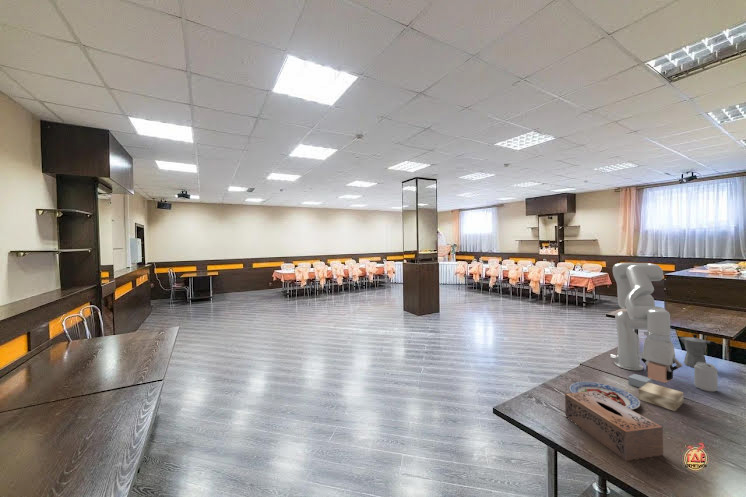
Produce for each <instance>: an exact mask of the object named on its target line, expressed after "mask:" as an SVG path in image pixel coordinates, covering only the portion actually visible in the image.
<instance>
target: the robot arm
mask: <svg viewBox="0 0 746 497" xmlns="http://www.w3.org/2000/svg"><path fill="white" fill-rule="evenodd" d="M612 275H613V278H614V280H615V282H616V289H617V291H616V292H617V294H616V295H617V305H618V306H619V308H621V309H624V310H625V309H626V311H618V312H617V313H616V314H615V316H614V318H615V324H616V332H617V333H616V334H617V355H615V354H610V356H609V357H610V359H611V360H615V361H614V365H615V366H616V367H618V368H621V369H624V370H629V371H635V372H637V371H643V370H644V366H643V365H642V364H640V360H641V361H642V362H643V363H644V365H645V368H646V369H645V370H646V372H647V374H646V375H648V362H655V363H659V364H663V365H666V366H667V369H668V371H667V380H670V381H672V379H673V378H674V371H675V370H678V369H680V368H682V367H683V366H684V365H683V364H682V363H681V361H679V360H678V359H677V357H676V352H675V346H674V343H673V341H671V313H670V312H669V311H668V310H666V309H665V308H664V307H662V306H656V303H655V299H654V297H653V295H652V294H653V293H654V291H655V287H654V286H653V283H652V282H660V281H661V280H663V278H664V271H663V269H662V268H661V266H659V265H658V264H654V263H649V262H620V263H615V264H614V265H613V266H612ZM634 330H645V331H644V332H643V335H644V336H646V337H645V338H644V341H643V347H642V351H641V352H640V336H639V335H638V334H637V333H636V332H635V331H634ZM673 364H675V365H674V366H673Z"/></svg>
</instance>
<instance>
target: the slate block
mask: <svg viewBox="0 0 746 497" xmlns="http://www.w3.org/2000/svg"><path fill="white" fill-rule="evenodd" d="M627 379H628V382H627V383H628V385H629V384H630V385H629V386H632V385H633V387H636V388H638V389H640V388H641V387H642V386H644V385H645V384H646V383H648V382H649V383H652V384H653V379H650V378H648V376H644V375H641V374H637V373H633V374H630V375H629V376H628V377H627Z"/></svg>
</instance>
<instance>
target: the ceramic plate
mask: <svg viewBox="0 0 746 497" xmlns="http://www.w3.org/2000/svg"><path fill="white" fill-rule="evenodd" d="M569 390H570V392H571V393H578V392H587V391H597V392H599V393H601V394H603V395H605V396H607V397H608V398H610V399H612V400H614V401H616V402H618V403H620V404H621V405H623V406H625V407H627V408H629V409H631V410H632V411H634V410H635V409H638V408H640V406H641V400H639V398H637V396H635V395H634V394H632V393H630V392H628V391H627V390H624V389H622V388H619V387H616V386H614V385H609V384H607V383H606V384H605V383H601V382H595V381H578V382H574V383H572V384H571V385H570V386H569Z"/></svg>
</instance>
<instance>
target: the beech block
mask: <svg viewBox="0 0 746 497" xmlns="http://www.w3.org/2000/svg"><path fill="white" fill-rule="evenodd" d="M638 400H639V401H642V402H646V403H649V404H652V405H654V406H659V407H661V408H663V409H667V410H670V411H674V412H676V411H677V410H678V409H679V408H680V407H681V406H682V405H683V404H684V392H682V391H680V390H676V389H673V388H670V387H665V386H662V385H660V384H659V385H658V384H656V383H653V382H652V383H649V382H648V383H646V384H645V385H644V386H642V387H641V388H638Z"/></svg>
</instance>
